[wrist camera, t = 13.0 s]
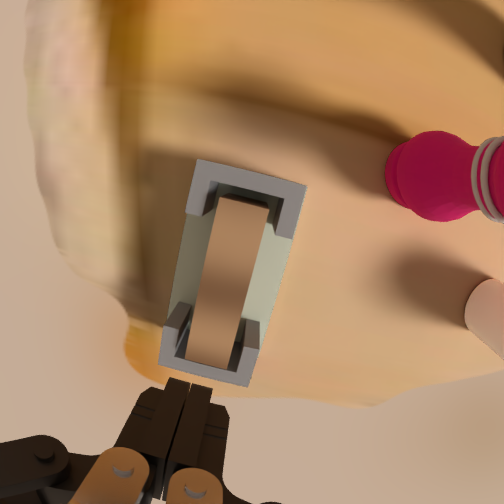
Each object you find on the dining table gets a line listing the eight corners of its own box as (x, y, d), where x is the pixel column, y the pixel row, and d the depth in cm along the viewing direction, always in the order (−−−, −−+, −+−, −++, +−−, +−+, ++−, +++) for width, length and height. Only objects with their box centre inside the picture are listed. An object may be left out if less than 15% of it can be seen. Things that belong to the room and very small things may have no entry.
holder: (201, 160, 26) (185, 156, 21) (305, 186, 27) (318, 189, 21) (167, 329, 30) (148, 361, 24) (258, 352, 30) (257, 389, 24)
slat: (228, 192, 26) (219, 197, 20) (267, 202, 26) (269, 209, 20) (198, 324, 29) (184, 358, 23) (232, 333, 29) (226, 369, 23)
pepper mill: (431, 226, 27) (601, 296, 8) (367, 196, 27) (543, 239, 7) (454, 157, 26) (629, 161, 6) (393, 122, 25) (568, 68, 6)
